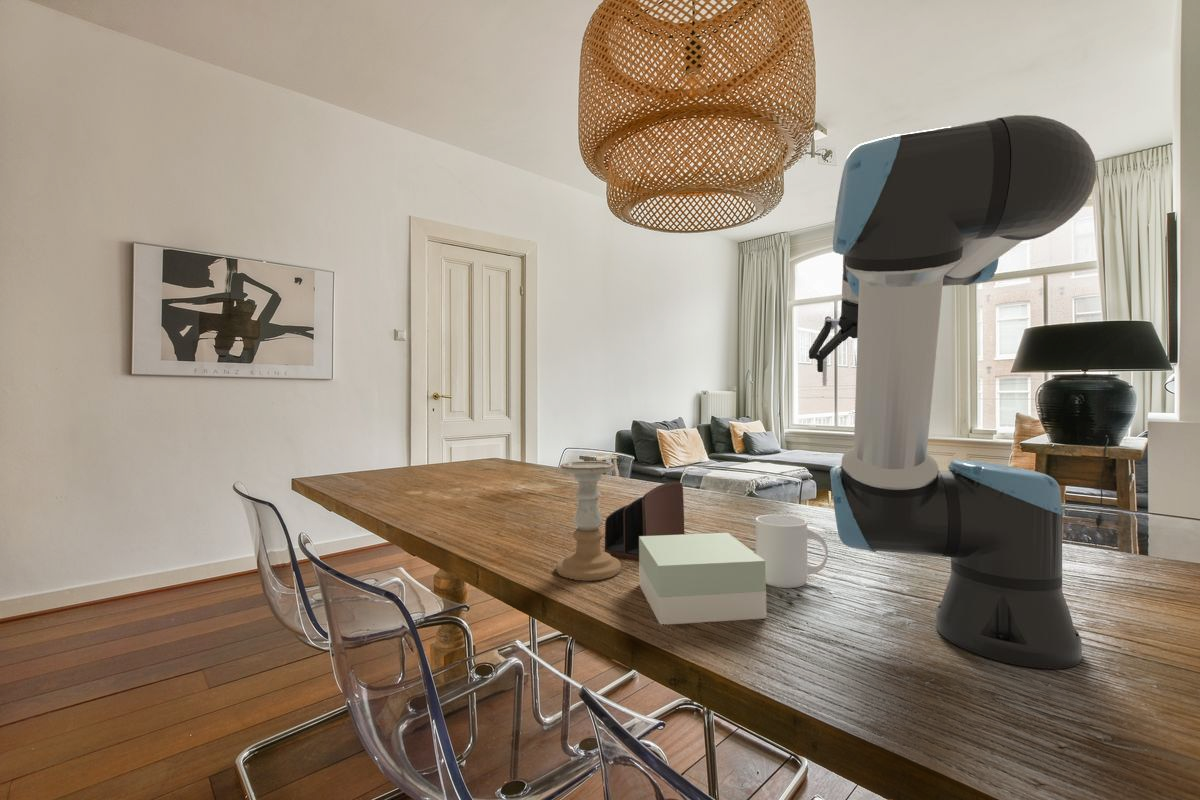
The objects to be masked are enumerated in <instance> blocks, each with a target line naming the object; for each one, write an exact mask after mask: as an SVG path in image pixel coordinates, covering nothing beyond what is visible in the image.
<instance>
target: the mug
mask: <svg viewBox="0 0 1200 800" xmlns="http://www.w3.org/2000/svg"><path fill="white" fill-rule="evenodd" d="M808 540H813V541H817V542H818V543H819V544H821V546H822V547H823V549H824V558H823V560H822V561H821V562H820V563H819V564H811V563H809V562H808ZM755 553H756V554H757V555H758V556H760V557H761V558H762V559H764V560H765V576H766V586H767V585H768V586H771V587H774V588H775V587H776V588H782V589H794V588H799V587H802V586H804V585H806V583H807V581H808V576H809V575H815V574H817V573H819V572H820V571H822V570H823V569H824V568H825V566H826V564H827V561H828V558H829V557H828V556H829V549H828V546H827V543H826V541H825V539H824V537H823V536H822V535H821V534H819V533H818V532H817V531H815V530H814V529H811V528H809V527H808V521H807V520H806V519H804V518H802V517H797V516H793V515H789V514H788V515H786V514H766V515H765V514H763V515H760V516H757V517H756V518H755Z"/></svg>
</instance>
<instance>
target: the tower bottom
mask: <svg viewBox="0 0 1200 800" xmlns="http://www.w3.org/2000/svg"><path fill="white" fill-rule="evenodd" d="M638 574H639V575H638V578H639V579H638V582H639V584H638V585H639V587H640V589H641V591H642V593H643V595H644V596H645V599H646V601H647V602H648V604H650V605H649V606H650V609H651V611H652V612H653V613H654V616H655V618H656V621H657V622H658V624H659V623H660V624H661V625H660V624H659V625H660V626H662V624H664V625H665V624H666V625H680V624H681V625H683V624H696V623H711V622H712V623H713V622H726V621H727V622H729V621H731V622H732V621H743V620H759V619H761V620H762V619H767V590H766V591H763V592H744V593H725V594H706V595H687V596H668V597H658V595H657V593H656V591H655V589H654V588H653V586H652V584H651V582H650V580H649V579H648V577H647V575H646V573H645V571H644V570H643V568H642V566H641V564H640V562H639V561H638ZM664 625H663V626H664ZM666 625H665V626H666Z"/></svg>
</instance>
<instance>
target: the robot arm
mask: <svg viewBox="0 0 1200 800" xmlns="http://www.w3.org/2000/svg"><path fill="white" fill-rule="evenodd" d="M1095 157H1096V156H1095V155H1094V153H1093V150H1092V148H1091V146H1090V144H1089V143H1088V142H1087V140H1086V139H1085V138H1084V137H1083V136H1082V135H1081V134H1080V133H1079V132H1078V131H1077V130H1075V129H1074V128H1072V127H1070V126H1068V125H1066V124H1065V123H1063V122H1061V121H1058V120H1056V119H1054V118H1053V119H1052V118H1049V117H1048V118H1047V117H1043V116H1040V115H1029V114H1027V115H1023V114H1016V115H1015V114H1013V115H1008V116H1002V117H996V118H995V119H988V120H983V121H977V122H970V123H964V124H958V125H952V126H947V127H946V126H945V127H939V128H933V129H928V130H922V131H921V130H920V131H916V132H910V133H904V134H900V133H896V134H894V135H891V136H887V137H883V138H878V139H874V140H870V141H867V142H864V143H860V144H858V145H857V146H855V147H854V148H853V149H852V150H851V151H850V152H849V154H848V155H847V158H846V159H845V163H844V165H843V170H842V174H841V179H840V184H839V189H838V195H837V203H836V210H835V217H834V228H833V236H832V250H833V252H834V253H835V254H839V255H841V256H842V282H841V296H842V298H841V305H840V307H841V311H840V317H839V318H832V317H831V316H827V315H826V317H825V318H824V324H823V327H822V329H821V330H820V332H818V333H819V334H818V335H817V337H816V339H815V340H814V342H813V344H812V345H811V347H810V349H809V350H808V358H809V359H810V360H813V359H814V360H816V364H817V366H816V368H817V369H816V370H817V372H818V373H822V386H823V387H826V386H827V382H828V381H827V369H828V361H827V358H828V356H829V355H830V354H831V353H833V351H834V350H836V348H838V346H840V344H841V343H844V342H845V341H847V339H849V337H850V338H851V339H857V342H856V366H855V367H856V369H855V370H856V371H855V373H856V374H855V399H854V401H855V404H854V405H855V407H854V431H853V432H854V435H853V436H854V437H853V446H852V447H850V449H848V450H846V451H845V452H844V454H842V456H841V457H842V458H841V465H837V466H833V467H831V468H830V470H829V474H830V475H829V476H830V485H831V493H832V501H833V509H834V516H835V522H836V523H835V524H836V527H837V528H836V529H837V533H838V537H839V540H840V541H841V543H842V544H843V545H845V546H846V547H847V548H851V549H856V550H857V549H858V550H863V551H864V550H865V551H869V552H871V553H876V552H886V553H895V554H896V553H897V554H907V555H910V554H911V555H918V556H930V557H941V558H942V557H944V558H950V575H949V578H948V581H947V584H946V587H945V590H944V593H943V596H942V600H941V602H940V603H939V604H938V606H937V608H936V615H935V620H936V621H935V624H936V625H935V626H936V629H937V631H938V633H939V634H940V635H941V636H942V637H943V638H945V639H946V640H947V641H949V642H950V643H952V644H954V645H955V646H958V647H959V648H962V649H963V650H966V651H968V652H970V653H974V654H976V655H979V656H981V657H984V658H987V659H991V660H994V661H997V662H1002V663H1006V664H1010V665H1015V666H1019V667H1027V668H1035V669H1049V670H1052V669H1054V670H1055V669H1059V670H1060V669H1065V668H1071V667H1075V666H1077V665H1079V664H1080V663H1081V661H1082V660H1083V655H1082V654H1083V651H1082V650H1083V647H1082V646H1083V645H1082V644H1083V642H1082V638H1081V636H1080V635H1081V634H1080V633H1079V632H1078V630H1077V629H1076V628H1075V626H1074V622H1073V618H1072V615H1071V612H1070V609H1069V607H1068V604H1067V601H1066V598H1065V596H1064V595H1065V594H1064V593H1063V592H1064V591H1063V516H1064V515H1065V512H1064V510H1063V503H1062V494H1061V493H1062V491H1061V486H1060V484H1059V483H1058V481H1057V480H1056V479H1055V478H1054V477H1052V476H1050V475H1048V474H1045V473H1043V472H1039V471H1035V470H1031V469H1026V468H1021V467H1015V466H1009V465H1004V464H999V463H998V464H997V463H990V462H986V461H985V462H983V461H975V460H968V459H967V460H965V459H964V460H963V459H952V460H951V461H950V464H948V470H939V465H938V463H937V461H936V460H935V459H934V458H933V457H932V456H931V455H929V454H928V442H929V431H930V423H931V413H932V411H931V410H932V402H933V400H932V399H933V390H934V389H933V388H934V380H935V368H936V360H937V359H936V358H937V347H938V336H939V327H940V316H941V305H942V295H943V287H946V286H947V287H949V286H958V285H960V286H970V285H973V284H980V283H986V282H988V281H991V279H993V277H994V276H995V273H996V272H997V269H998V265H999V258H1000V257H1002V256H1003V255H1005V254H1006V253H1007V252H1009V251H1010V250H1012V249H1014V248H1015V247H1016V246H1017V245H1019V244H1021V243H1022V242H1023V241H1024V242H1025V241H1029V240H1030V241H1031V240H1035V239H1039V238H1040V237H1044V236H1046V235H1048V234H1049V233H1052V232H1054V231H1055V230H1057V229H1058V228H1060V227H1061V226H1063V225H1064V224H1065V223H1067V222H1068V221H1069V220H1071V219H1072V218H1073V217H1075V216H1076V215H1077V213H1079V211H1081V209H1082V208H1083V207H1084V205H1085V204H1086V203H1087V201H1088V199H1089V197H1090V195H1091V194H1092V192H1093V189H1094V186H1095V183H1096V179H1097V176H1096V175H1097V164H1096V163H1097V162H1096V158H1095ZM836 326H838V327H839V328H840V329H839V330H838V331H837V333H836V334H835V335H833V337H832V338H831V339H829V341H828V342H827V343H826V344H825V345H824V343H825V342H826V339H827V338H828V336H829V335H830V333H831V331H832V330H834V329H835V327H836Z"/></svg>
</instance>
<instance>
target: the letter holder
mask: <svg viewBox="0 0 1200 800" xmlns="http://www.w3.org/2000/svg"><path fill="white" fill-rule="evenodd" d="M684 500H685V499H684V487H683V484H682V482H681V481H680V482H679V481H670V482H667V483H662V484H660V485H658V486H656V487H654V488H652V489H651V490H649V491H648V492H646V493H645V494H644V495H643V496H641V497H638V498H637V499H635V500H633V501H632V502H630V503H629V504H626V505H624V506H622V507H620V508H617V510H614V511H613V512H612V513H610V514H609V515H608V516H607V517H606V518H605V522H604V552H607V553H609V554H610V555H612V556H613V557H616V556H618V558H622V557H623V558H624V559H627V560H628V559H629V560H633V559H634V561H639V536H660V535H684V534H685V533H686V532H685V508H684V507H685V504H684Z"/></svg>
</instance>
